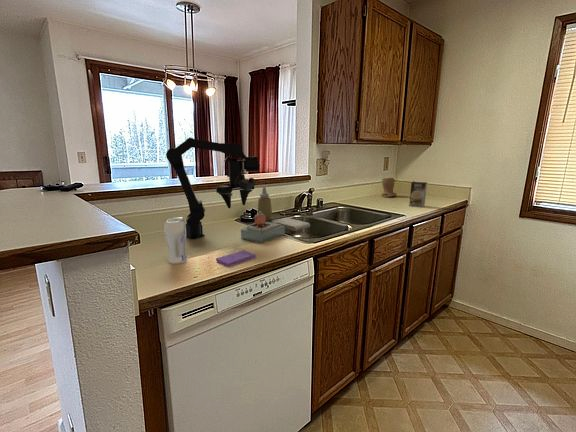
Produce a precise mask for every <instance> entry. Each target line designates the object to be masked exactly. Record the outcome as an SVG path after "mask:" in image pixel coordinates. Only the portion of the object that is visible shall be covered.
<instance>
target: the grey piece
mask: <svg viewBox="0 0 576 432" xmlns="http://www.w3.org/2000/svg"><path fill="white" fill-rule="evenodd" d="M265 225H266V227H263V228H258V227H255V222H254V223H251V224H248V225H246V227H245V228H241V229H240V238H241V239H244V240H247V241H251V242H255V243H259V244H264V243H266V242H269V241H271V240H275V239H276V238H279V237H282V236H284V234H285V231H286V229H285V226H282V225H281V224H277V223H272V221H271V222H270V221H265ZM285 235H286V234H285Z"/></svg>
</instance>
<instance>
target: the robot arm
mask: <svg viewBox="0 0 576 432" xmlns="http://www.w3.org/2000/svg"><path fill="white" fill-rule="evenodd" d="M192 148H194V149H199V150H205V151H206V150H207V151H212V152H219V153H222V154H226V158H225V159H223V161H224V162H225V163H228V174H227V175H226V176H227V177H228V180H229V181H228V182H229V183H227V185H225V184H224V185H218V186H217V187H216V188H215V189H216V194H218V195H220V196H221V198H222V200H223V201H224V203H225V205H226V207H227V208H228V209H231V207H232V199H231V198H232V196H233V191H237V190H239V196H240V200H241V204H242V206H245V205H246V203H247V199H248V198H249V197H248V196H249V194H250V193H251V192H253V190H254V189H255V184H256V181H255V178H253V177H249V178H245V174H244V173H243V170H244V171H245V172H246V173H251V172H252V173H254V172H257V173H258V172H259V171H260V164H259V157H258V156H257V155H254V156H246V154H245V153H244V152H243V148H242V146H241V144H239V143H237V142H233V143H232V142H227V143H226V142H224V143H223V142H220V143H219V142H214V141H207V140H202V139H196V138H192V137H187V139H186V140H184V141H183V142H181V143H180V144H179V145H178V146H175V147H171V148H169V149H167V151H166V153H165V154H166V155H165V156H166V159H167V160H168V162H169V164H170V165H171V166H172V168H173V170H174V171H175V173H176V175H177V178H178V180H179V182H180V186H181V187H182V190H183V192H184V195H185V197H186V200H187V203H188V208H189V212H190V213H188V215H187V216H186V219H185V226H186V238H188V239H192V240H194V239H198V238H201V237H205V234H204V233H203V232H204V231H203V223H202V221H201V220H203V219H204V217H205V212H206V208H205V207H204V205H203V200H198V197H197V196H196V194H195V192H194V189H193V186H192V184H191V181H190V179H189V177H188V173H187V172H186V169H185V164H184V159H183V154H185V153H186V152H187V151H189V150H191V149H192ZM227 155H228V156H227ZM230 156H232V157H230ZM237 158H239V159H240V160H239V159H237Z"/></svg>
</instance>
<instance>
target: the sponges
mask: <svg viewBox="0 0 576 432" xmlns="http://www.w3.org/2000/svg"><path fill="white" fill-rule="evenodd" d="M256 255H257V253H253V252H250V251H247V250H245V249H243V250H239V251H237V252H233V253H229V254H227V255H223V256H220V257H219V256H218V257H216V258H215V261H216V263H217V264H220V265H223V266H225V267H227V266H228V267H227V268H229V267H231V266H232V267H233V266H234V265H237V263H238V264H240V262H241V263H243V261H244V262H246V260H247V261H249V259H250V260H252V259H255V258H256V257H257V256H256Z"/></svg>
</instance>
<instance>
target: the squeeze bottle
mask: <svg viewBox="0 0 576 432" xmlns="http://www.w3.org/2000/svg"><path fill="white" fill-rule="evenodd" d="M261 191H262V192H261V193H259V198H258V201H257V213H256V215H257V214H258V213H259V211H261V213H263V214H264V215H265V222H270V221H271V218H272V214H273V209H272V202H271V201H272V200H271V199H272V198H270V197H269V196H270V195H269V194H270V193H267V189H266V186H263V187H262V190H261Z"/></svg>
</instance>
